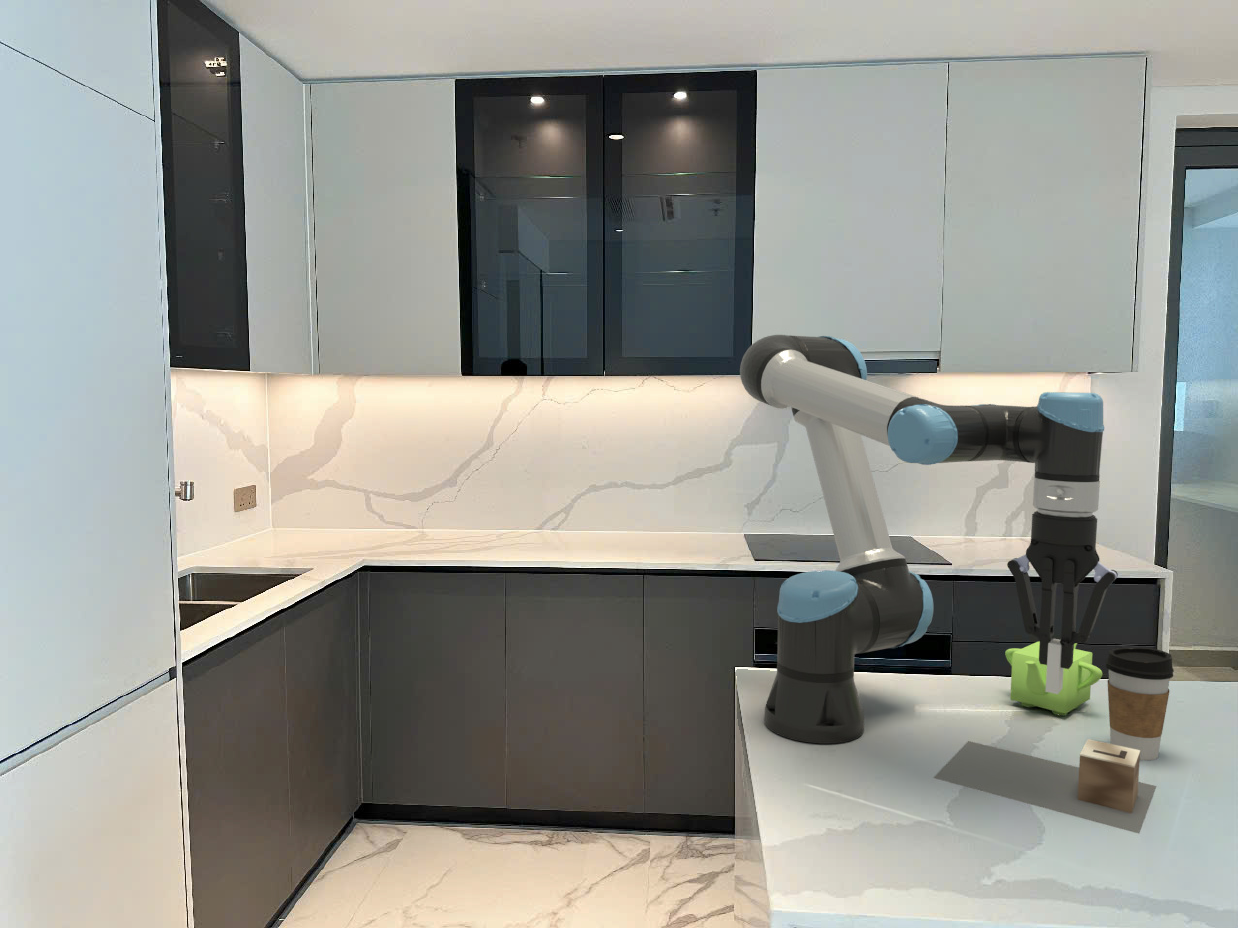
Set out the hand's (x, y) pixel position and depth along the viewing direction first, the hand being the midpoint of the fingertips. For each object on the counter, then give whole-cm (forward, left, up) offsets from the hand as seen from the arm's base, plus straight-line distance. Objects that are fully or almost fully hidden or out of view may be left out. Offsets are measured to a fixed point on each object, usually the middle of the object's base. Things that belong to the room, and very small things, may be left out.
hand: (1053, 689), depth 116 cm
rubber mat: (-1, 0, -13) cm, 13 cm away
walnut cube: (+7, 0, -7) cm, 10 cm away
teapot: (-7, +33, -13) cm, 36 cm away
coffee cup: (+7, +19, -13) cm, 24 cm away
